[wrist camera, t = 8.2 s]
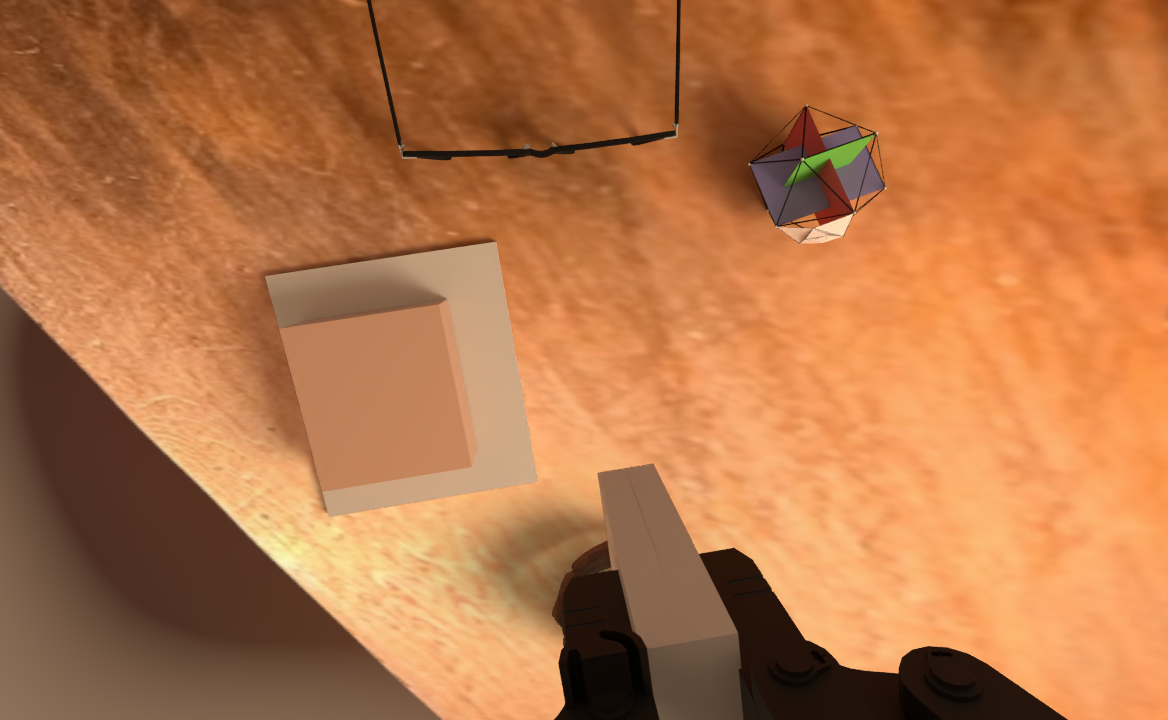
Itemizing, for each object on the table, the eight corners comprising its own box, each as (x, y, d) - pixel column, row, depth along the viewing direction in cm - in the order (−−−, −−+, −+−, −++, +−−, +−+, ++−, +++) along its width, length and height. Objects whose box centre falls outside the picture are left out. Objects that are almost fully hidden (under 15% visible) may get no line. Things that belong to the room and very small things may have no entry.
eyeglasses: (406, 176, 34) (389, 168, 30) (362, -126, 31) (336, -179, 27) (674, 154, 35) (691, 143, 31) (659, -141, 32) (676, -194, 28)
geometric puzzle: (730, 107, 32) (799, 177, 27) (842, 67, 32) (932, 130, 27) (733, 207, 38) (790, 282, 33) (828, 173, 38) (901, 243, 33)
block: (447, 298, 35) (301, 321, 35) (439, 304, 32) (279, 328, 32) (477, 449, 37) (340, 471, 37) (471, 467, 34) (322, 491, 34)
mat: (267, 275, 34) (264, 276, 34) (496, 241, 35) (495, 241, 35) (331, 514, 38) (328, 517, 37) (537, 479, 38) (538, 481, 38)
